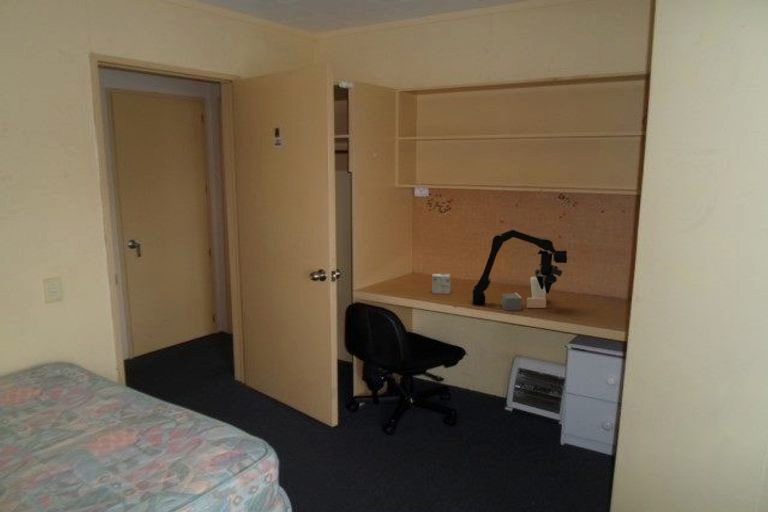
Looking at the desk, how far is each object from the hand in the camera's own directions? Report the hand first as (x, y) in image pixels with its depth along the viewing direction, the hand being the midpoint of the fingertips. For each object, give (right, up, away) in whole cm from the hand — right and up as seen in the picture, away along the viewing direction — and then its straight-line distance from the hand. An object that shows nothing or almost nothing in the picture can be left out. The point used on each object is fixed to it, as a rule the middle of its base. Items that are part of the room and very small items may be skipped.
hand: (544, 291), depth 293 cm
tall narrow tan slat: (-4, -9, +2) cm, 10 cm away
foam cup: (+1, -7, +16) cm, 17 cm away
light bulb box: (-52, -3, +35) cm, 62 cm away
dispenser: (-18, -9, +1) cm, 20 cm away
